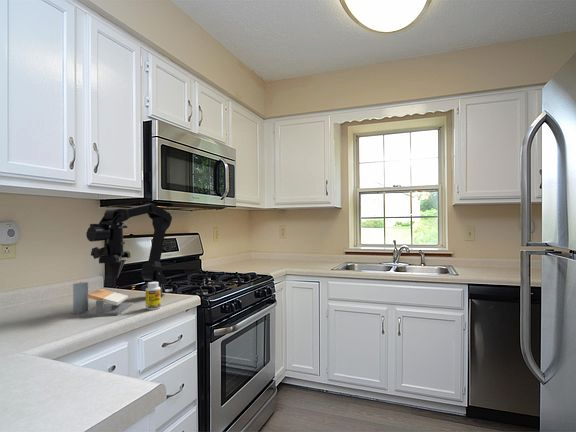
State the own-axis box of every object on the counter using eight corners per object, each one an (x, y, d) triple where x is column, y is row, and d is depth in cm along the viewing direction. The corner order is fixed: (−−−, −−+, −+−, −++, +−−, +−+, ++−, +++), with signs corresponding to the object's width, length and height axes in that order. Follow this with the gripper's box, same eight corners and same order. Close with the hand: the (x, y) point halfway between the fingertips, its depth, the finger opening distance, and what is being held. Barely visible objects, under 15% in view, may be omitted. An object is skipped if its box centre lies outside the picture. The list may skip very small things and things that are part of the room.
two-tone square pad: (100, 293, 137) (101, 288, 137) (127, 300, 138) (128, 295, 138) (85, 300, 125) (87, 294, 125) (115, 307, 126) (117, 302, 126)
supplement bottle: (147, 311, 130) (146, 284, 130) (144, 308, 134) (144, 282, 134) (162, 308, 133) (162, 282, 133) (159, 305, 137) (158, 280, 138)
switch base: (99, 306, 139) (99, 292, 139) (132, 304, 140) (132, 291, 140) (80, 317, 123) (80, 301, 123) (117, 315, 124) (117, 300, 124)
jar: (77, 310, 133) (77, 282, 133) (90, 309, 133) (90, 281, 133) (70, 313, 128) (70, 284, 128) (84, 313, 128) (84, 284, 128)
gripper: (103, 239, 145) (103, 275, 145) (83, 242, 126) (84, 283, 126) (130, 238, 146) (131, 274, 146) (115, 241, 128) (116, 282, 128)
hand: (116, 278), depth 137 cm, fingers closed
